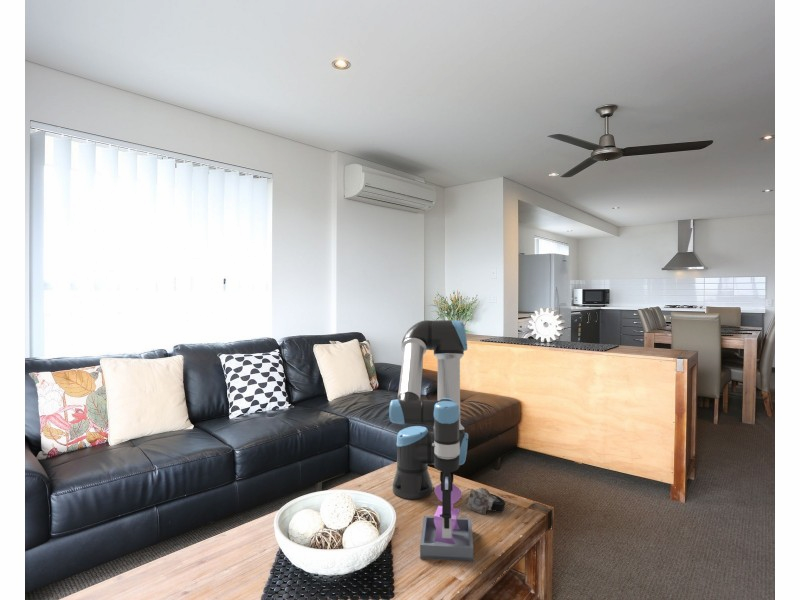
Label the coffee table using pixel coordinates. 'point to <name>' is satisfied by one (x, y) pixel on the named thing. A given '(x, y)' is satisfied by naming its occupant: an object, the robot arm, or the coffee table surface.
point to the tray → (445, 550)
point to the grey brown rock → (484, 501)
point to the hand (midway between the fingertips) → (446, 528)
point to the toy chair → (454, 513)
